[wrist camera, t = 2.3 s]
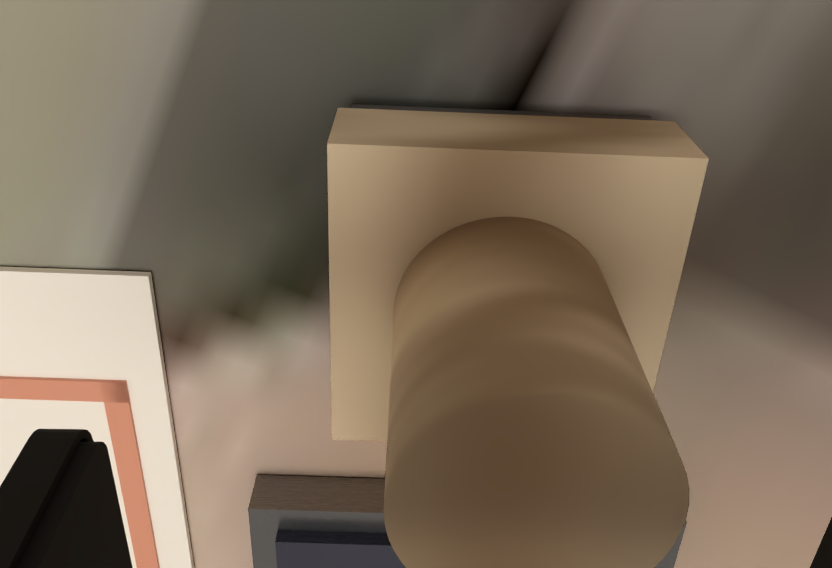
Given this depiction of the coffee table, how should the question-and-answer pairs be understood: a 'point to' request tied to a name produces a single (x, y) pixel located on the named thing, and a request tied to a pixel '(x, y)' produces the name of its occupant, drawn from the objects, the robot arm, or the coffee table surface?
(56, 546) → the robot arm
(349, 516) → the ink pad
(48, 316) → the paper
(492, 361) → the stamp
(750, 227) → the coffee table surface
